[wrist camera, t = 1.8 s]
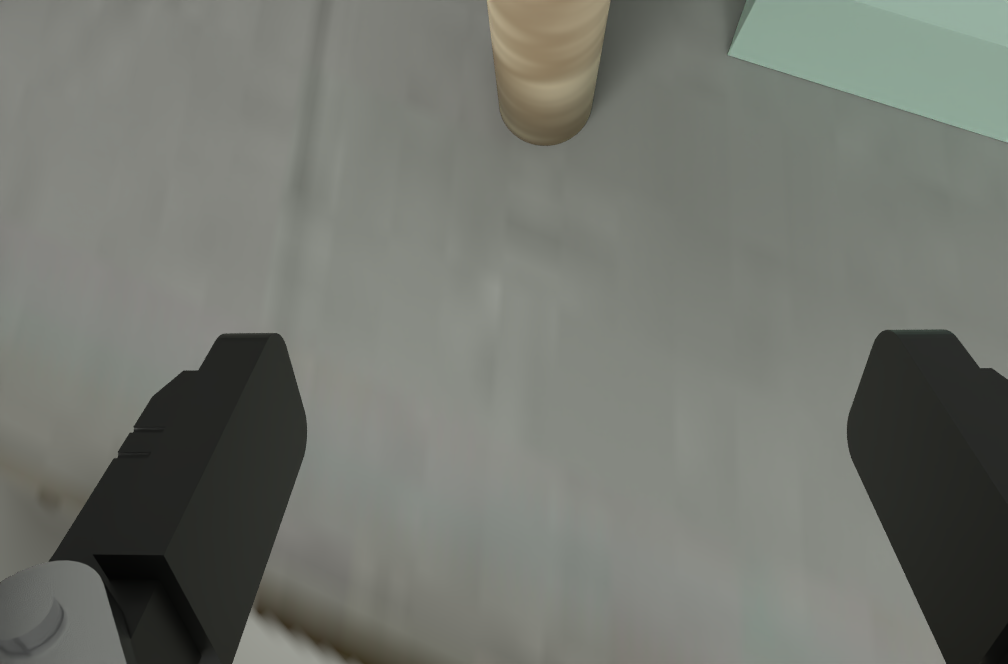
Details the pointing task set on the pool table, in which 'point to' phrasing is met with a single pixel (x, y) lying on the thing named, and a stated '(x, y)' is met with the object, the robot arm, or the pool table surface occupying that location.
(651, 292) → the pool table surface
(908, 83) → the socket block
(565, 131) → the pin
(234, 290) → the pool table surface
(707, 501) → the pool table surface
